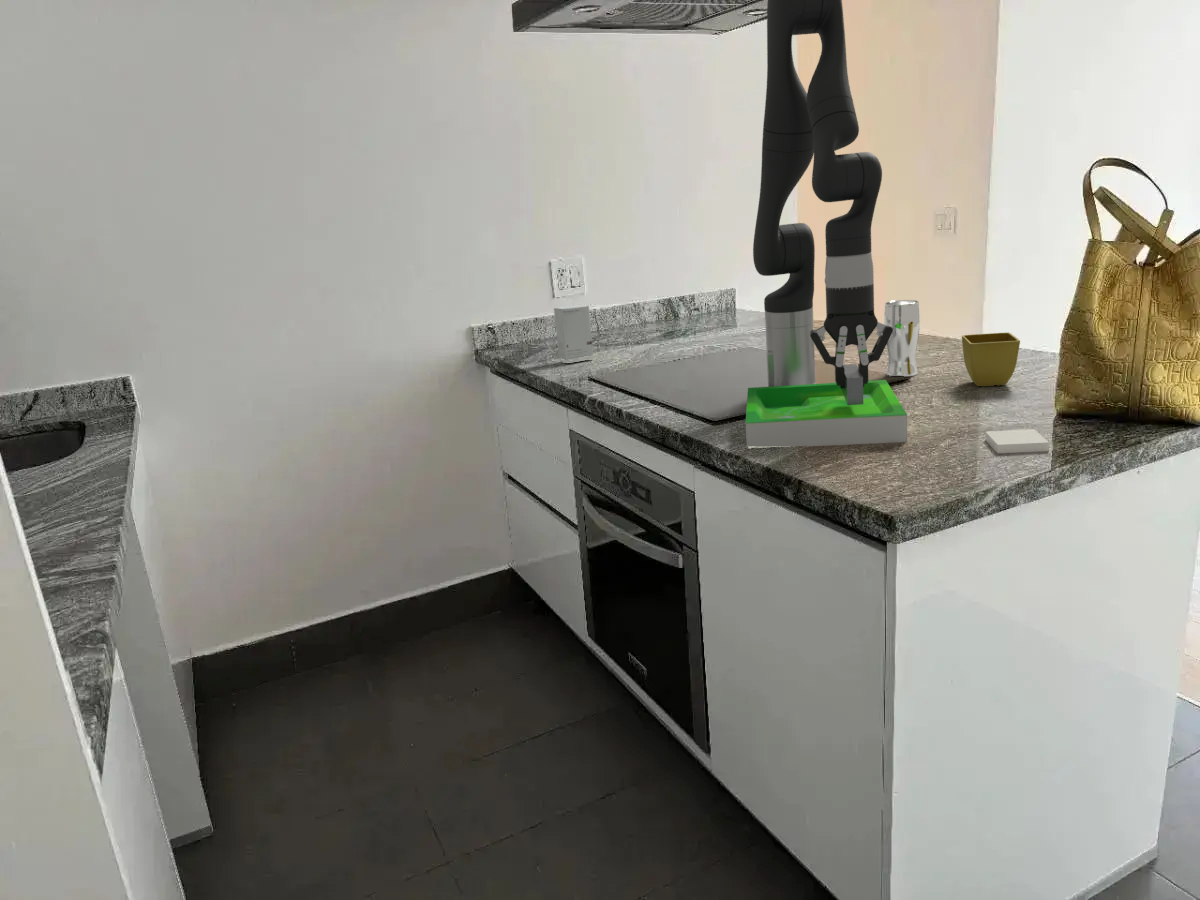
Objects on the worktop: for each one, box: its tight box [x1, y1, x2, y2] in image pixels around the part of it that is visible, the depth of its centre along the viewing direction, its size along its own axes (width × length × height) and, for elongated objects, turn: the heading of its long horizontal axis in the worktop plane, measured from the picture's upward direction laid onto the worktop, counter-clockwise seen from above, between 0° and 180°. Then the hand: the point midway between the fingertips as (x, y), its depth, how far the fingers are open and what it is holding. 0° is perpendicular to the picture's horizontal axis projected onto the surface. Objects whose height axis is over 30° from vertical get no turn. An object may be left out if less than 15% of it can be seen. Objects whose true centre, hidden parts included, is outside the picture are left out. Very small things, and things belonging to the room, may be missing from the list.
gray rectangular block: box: [842, 363, 863, 405], centre depth 145 cm, size 2×10×4 cm, turn 170°
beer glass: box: [883, 299, 921, 378], centre depth 179 cm, size 7×7×15 cm
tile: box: [984, 428, 1050, 454], centre depth 130 cm, size 2×7×7 cm
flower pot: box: [961, 332, 1021, 387], centre depth 165 cm, size 9×9×9 cm
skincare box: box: [553, 304, 594, 360], centre depth 233 cm, size 8×6×15 cm
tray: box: [745, 379, 908, 447], centre depth 151 cm, size 25×25×5 cm
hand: (852, 386), depth 145 cm, fingers closed on gray rectangular block, 2 cm apart
